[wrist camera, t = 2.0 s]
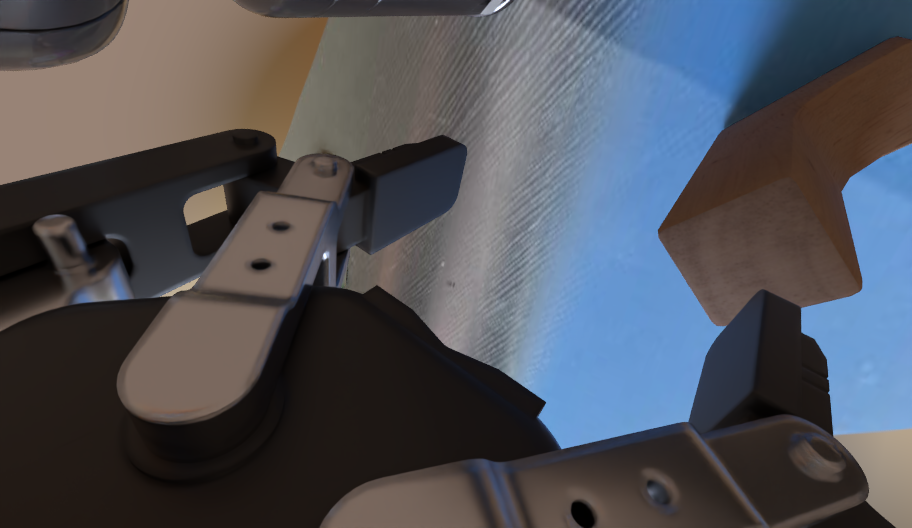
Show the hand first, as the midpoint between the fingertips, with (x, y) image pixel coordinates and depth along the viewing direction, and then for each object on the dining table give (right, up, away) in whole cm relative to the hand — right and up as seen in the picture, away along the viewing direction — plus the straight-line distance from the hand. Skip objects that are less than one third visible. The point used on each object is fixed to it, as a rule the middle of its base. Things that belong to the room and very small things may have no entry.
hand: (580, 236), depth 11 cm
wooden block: (+18, +8, +14) cm, 24 cm away
